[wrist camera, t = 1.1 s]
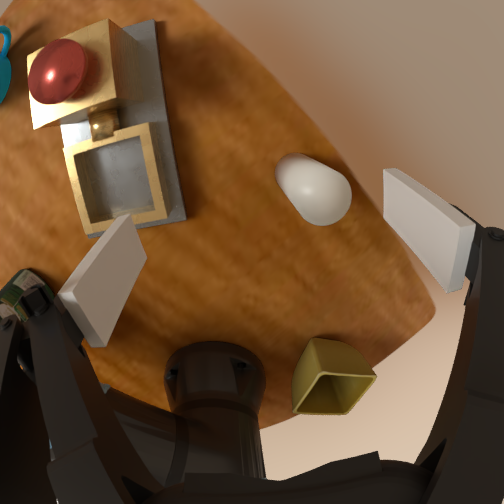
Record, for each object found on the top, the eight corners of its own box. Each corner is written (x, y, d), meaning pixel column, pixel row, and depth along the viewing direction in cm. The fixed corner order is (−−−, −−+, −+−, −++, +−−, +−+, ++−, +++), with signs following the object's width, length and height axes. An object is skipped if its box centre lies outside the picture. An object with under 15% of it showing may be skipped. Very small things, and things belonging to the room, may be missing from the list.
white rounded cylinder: (316, 190, 31) (352, 221, 22) (277, 195, 31) (298, 229, 22) (313, 150, 30) (350, 166, 21) (272, 155, 29) (293, 172, 20)
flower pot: (281, 367, 43) (291, 414, 35) (303, 324, 39) (320, 372, 31) (330, 372, 44) (346, 415, 36) (356, 332, 41) (379, 376, 33)
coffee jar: (44, 329, 37) (-6, 418, 20) (8, 297, 34) (-53, 377, 17) (64, 293, 34) (0, 394, 18) (24, 257, 32) (-56, 342, 15)
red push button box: (187, 216, 32) (170, 264, 22) (91, 235, 31) (47, 283, 21) (155, 21, 22) (123, -19, 12) (57, 57, 22) (-3, 45, 12)
